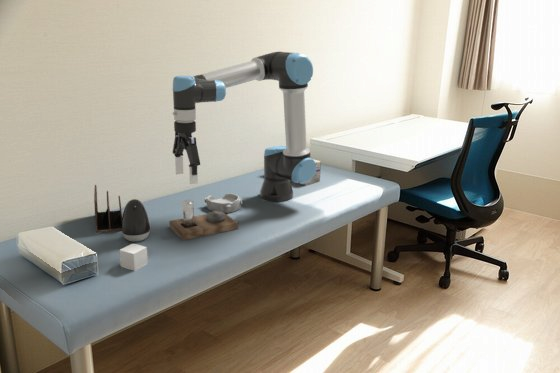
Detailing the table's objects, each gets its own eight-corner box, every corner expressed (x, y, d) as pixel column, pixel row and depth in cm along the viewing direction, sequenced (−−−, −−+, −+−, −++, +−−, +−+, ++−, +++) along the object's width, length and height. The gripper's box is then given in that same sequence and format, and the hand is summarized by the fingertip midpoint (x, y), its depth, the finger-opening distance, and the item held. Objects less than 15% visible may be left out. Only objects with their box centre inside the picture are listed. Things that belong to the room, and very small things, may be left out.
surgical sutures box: (319, 181, 262) (320, 161, 258) (306, 186, 254) (307, 165, 251) (283, 171, 278) (283, 152, 275) (269, 175, 270) (269, 155, 267)
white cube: (133, 259, 173) (132, 243, 171) (147, 264, 170) (146, 247, 169) (120, 266, 168) (119, 249, 166) (134, 271, 165) (133, 253, 163)
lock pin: (191, 228, 199) (190, 199, 195) (196, 231, 195) (195, 202, 192) (181, 230, 196) (180, 201, 193) (186, 233, 193) (184, 204, 190)
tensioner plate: (221, 218, 210) (221, 203, 208) (237, 229, 199) (237, 214, 197) (169, 228, 199) (168, 213, 197) (183, 241, 188) (182, 225, 186)
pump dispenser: (122, 246, 183) (119, 205, 178) (121, 234, 192) (119, 195, 187) (151, 243, 185) (149, 203, 181) (150, 232, 195) (148, 194, 190)
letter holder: (96, 233, 193) (92, 197, 189) (96, 215, 211) (93, 182, 207) (124, 231, 196) (121, 195, 192) (121, 213, 214) (119, 180, 210)
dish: (200, 208, 222) (200, 197, 220) (225, 200, 231) (225, 190, 230) (222, 217, 212) (222, 205, 210) (247, 209, 221) (247, 198, 220)
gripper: (162, 115, 192) (164, 171, 198) (188, 127, 171) (189, 189, 178) (181, 114, 195) (183, 168, 202) (209, 126, 175) (210, 186, 182)
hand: (186, 178), depth 190 cm, fingers open, 13 cm apart
